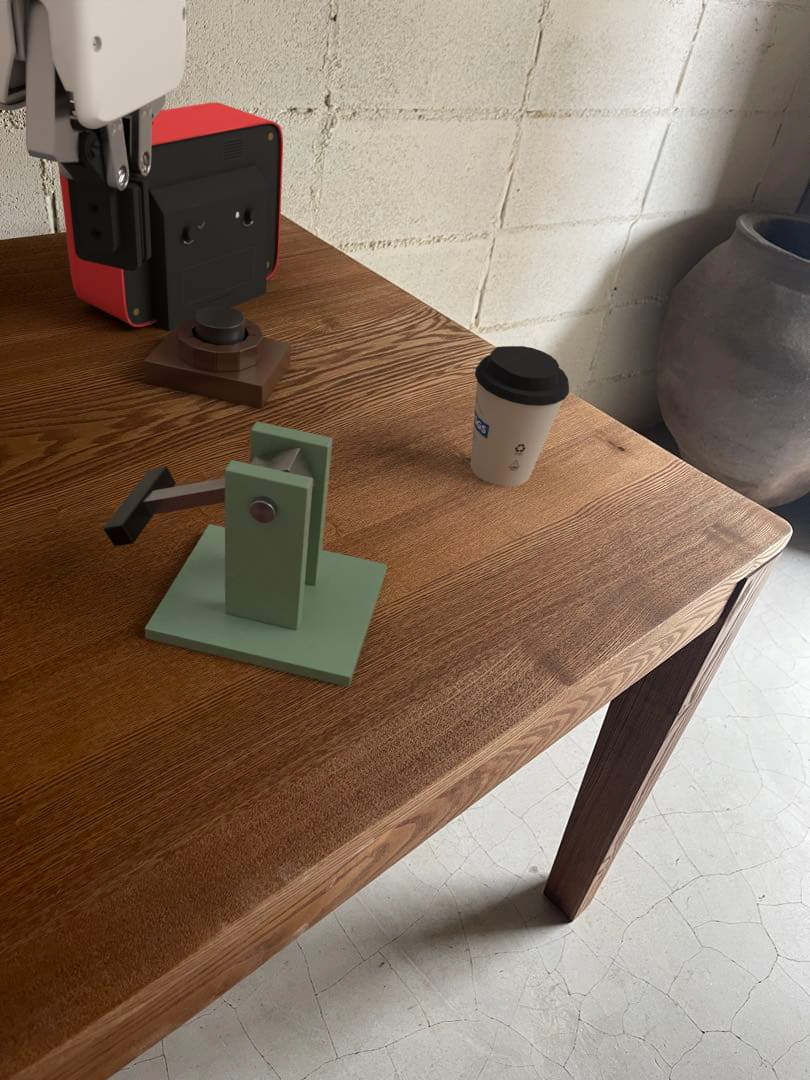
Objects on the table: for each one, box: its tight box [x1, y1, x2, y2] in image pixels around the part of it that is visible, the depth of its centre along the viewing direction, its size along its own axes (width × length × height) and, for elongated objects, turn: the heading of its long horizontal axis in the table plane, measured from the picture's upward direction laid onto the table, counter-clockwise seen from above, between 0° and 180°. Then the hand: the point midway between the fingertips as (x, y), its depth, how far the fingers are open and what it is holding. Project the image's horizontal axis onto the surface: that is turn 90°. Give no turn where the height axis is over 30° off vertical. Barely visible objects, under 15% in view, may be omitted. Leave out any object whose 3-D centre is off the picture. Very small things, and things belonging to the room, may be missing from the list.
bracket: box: [144, 421, 388, 688], centre depth 49 cm, size 12×10×12 cm
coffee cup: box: [470, 345, 570, 488], centre depth 64 cm, size 7×7×10 cm
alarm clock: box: [57, 101, 284, 332], centre depth 79 cm, size 10×20×16 cm, turn 145°
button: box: [195, 306, 246, 346], centre depth 71 cm, size 4×4×2 cm
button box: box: [143, 316, 292, 410], centre depth 73 cm, size 10×8×4 cm
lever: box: [103, 448, 315, 547], centre depth 48 cm, size 11×6×2 cm, turn 79°
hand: (114, 258), depth 42 cm, fingers closed
